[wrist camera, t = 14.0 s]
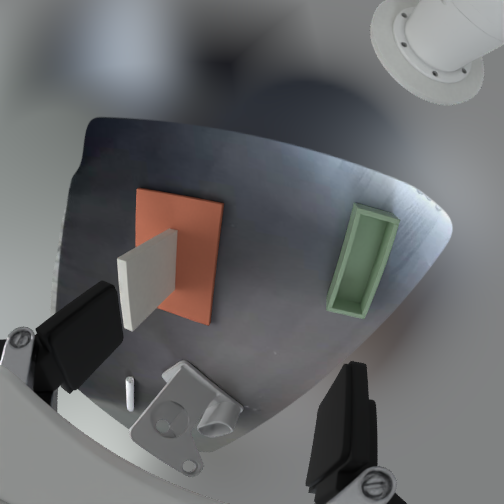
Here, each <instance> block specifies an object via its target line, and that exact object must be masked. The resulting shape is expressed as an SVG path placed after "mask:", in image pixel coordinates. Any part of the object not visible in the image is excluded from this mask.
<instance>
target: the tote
mask: <svg viewBox="0 0 504 504" xmlns="http://www.w3.org/2000/svg"><path fill="white" fill-rule="evenodd" d="M399 222H400V220H399V219H398V218H397V217H396V216H395V215H394V214H393V213H390V212H386V211H383V210H379V209H376V208H372V207H369V206H365V205H362V204H358V203H354V204H353V208H352V212H351V216H350V220H349V224H348V228H347V231H346V235H345V239H344V242H343V246H342V249H341V253H340V256H339V260H338V263H337V266H336V269H335V273H334V276H333V279H332V282H331V285H330V288H329V291H328V294H327V306H326V310H327V311H331V312H335V313H339V314H344V315H348V316H353V317H357V318H362V319H365V316H366V314H367V312H368V309H369V307H370V305H371V302H372V300H373V297H374V295H375V292H376V290H377V287H378V285H379V282H380V279H381V277H382V274H383V271H384V269H385V266H386V263H387V260H388V257H389V254H390V251H391V248H392V245H393V242H394V239H395V236H396V232H397V229H398V226H399Z"/></svg>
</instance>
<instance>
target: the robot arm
mask: <svg viewBox="0 0 504 504" xmlns="http://www.w3.org/2000/svg"><path fill="white" fill-rule="evenodd" d="M393 36H394V40H395V42H396V45H397V47H398V49H399V50H400V52H401V54H402V55H403V56H404V58H405V59H406V60H407V61H408V62H409V63H410V64H411V65H412V66H413V67H414V68H415V69H416V70H418V71H419V72H420V73H422V74H423V75H425V76H426V77H428V78H430V79H432V80H434V81H438V82H441V83H448V84H450V83H456V82H459V81H461V80H463V79H465V78H466V77H467V76H468V75H469V73H470V70H471V67H472V61H474V60H476V59H478V58H479V57H481V56H483V55H485V54H487V53H489V52H491V51H493V50H495V49H496V48H499V47H501V46H503V45H504V0H420V2H419V3H418V5H417V6H416V7H410V8H406V9H404V10H402V11H401V12H400V13H399V14H398V15H397V16H396V18H395V20H394V23H393ZM402 45H403V46H404V47H403V46H402ZM433 74H434V75H433ZM36 332H37V334H36V335H34V332H33V331H32V330H31V329H30V328H28V327H19V328H16V329H14V330H13V331H12V332H11V333H10V334H9V335H8V337H7V339H6V340H0V504H228V503H224V502H221V501H218V500H215V499H212V498H209V497H206V496H203V495H200V494H198V493H195V492H192V491H190V490H187V489H185V488H182V487H180V486H177V485H175V484H173V483H170V482H168V481H166V480H164V479H162V478H159V477H157V476H155V475H153V474H151V473H149V472H147V471H145V470H143V469H141V468H139V467H137V466H135V465H134V464H132V463H130V462H128V461H127V460H125V459H123V458H121V457H120V456H118V455H116V454H115V453H113V452H111V451H110V450H108V449H107V448H105V447H103V446H102V445H100V444H99V443H97V442H96V441H94V440H93V439H91V438H90V437H89V436H87V435H85V434H84V433H83V432H81V431H80V430H79V429H77V428H76V427H75V426H74V425H72V424H71V423H70V422H68V421H67V420H66V419H65V418H63V417H62V416H61V415H60V414H58V413H57V394H58V387H59V386H60V385H61V387H62V388H63V389H64V390H65V391H67V392H68V393H69V394H70V393H71V392H72V391H73V390H77V389H78V388H79V387H80V386H81V385H82V384H83V383H84V382H85V381H86V380H87V379H88V378H89V377H90V375H91V374H92V373H93V372H94V371H95V370H96V369H97V368H98V367H99V366H100V365H101V364H102V363H103V362H104V361H105V360H106V359H107V358H108V357H109V356H110V355H111V353H112V352H113V351H114V350H115V349H116V348H117V347H118V346H119V345H120V344H121V343H122V341H123V331H122V324H121V318H120V311H119V303H118V295H117V291H116V290H115V287H114V285H112V284H110V283H107V282H105V281H100V282H99V283H97V284H96V285H94V286H93V287H91V288H90V289H89V290H87V291H86V292H84V293H83V294H81V295H80V296H79V297H77V298H76V299H75V300H73V301H72V302H70V303H69V304H68V305H66V306H65V307H64V308H62V309H61V310H60V311H58V312H57V313H55V314H54V315H53V316H51V317H50V318H49V319H48V320H46V321H45V322H44V323H42V324H41V325H40V326H39V327H37V328H36ZM368 396H369V395H368V379H367V367H366V364H364V363H359V362H354V361H351V362H350V363H349V364H344V365H343V367H342V369H341V370H340V372H339V374H338V376H337V378H336V379H335V381H334V383H333V384H332V386H331V388H330V389H329V391H328V393H327V394H326V396H325V398H324V399H323V401H322V402H321V404H320V406H319V409H318V413H317V420H316V427H315V433H314V440H313V446H312V452H311V458H310V463H309V469H308V474H307V479H306V486H309V493H315V499H314V501H315V504H407V503H406V502H405V501H403V500H402V499H401V498H400V497H399V496H398V495H397V494H396V493H395V491H396V487H397V482H396V478H395V476H394V475H393V473H392V472H391V471H390V470H388V469H386V468H384V467H380V466H377V415H376V404H375V401H374V400H369V397H368Z"/></svg>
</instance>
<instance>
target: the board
mask: <svg viewBox="0 0 504 504" xmlns="http://www.w3.org/2000/svg"><path fill="white" fill-rule="evenodd" d="M177 232H178V230H174V229H170V228H169V229H168V230H166V231H164V232H162V233H160V234H159V235H157V236H155V237H153V238H151V239H150V240H148V241H146V242H144V243H143V244H141V245H139V246H137V247H136V248H134V249H132V250H130V251H129V252H127V253H125V254H124V255H122V256H120V257H119V258H117V263H118V277H119V288H120V298H121V306H122V314H123V322H124V328H126V329H128V330H130V331H134V330H135V329H136V328H137V327H138V326H139V325H140V324H141V323H142V322H143V321H144V320H145V319H146V318H147V317H148V316H149V315H150V314H151V313H152V312H153V311H154V310H155V309H156V308H157V307H158V306H159V305H160V304H161V303H162V302H163V301H164V300H165V299H166V298H167V297H168V296H169V295H170V294H171V293H172V292H173V291H174V290H175V276H176V250H177Z"/></svg>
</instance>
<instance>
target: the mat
mask: <svg viewBox="0 0 504 504" xmlns="http://www.w3.org/2000/svg"><path fill="white" fill-rule="evenodd" d="M223 208H224V203H220V202H215V201H210V200H205V199H199V198H194V197H189V196H183V195H178V194H172V193H167V192H161V191H155V190H149V189H143V188H138V189H137V198H136V247H137V246H139V245H141V244H143V243H144V242H146V241H148V240H150V239H151V238H153V237H155V236H157V235H159V234H160V233H162V232H164V231H166V230H168V229H169V228H170V229H174V230H178V232H177V250H176V276H175V290H174V291H173V292H172V293H171V294H170V295H169V296H168V297H167V298H166V299H165V300H164V301H163V302H162V303H161V304H160V305H159V306H158V307H157V308H159V309H162V310H165V311H167V312H170V313H173V314H176V315H179V316H181V317H184V318H187V319H190V320H193V321H196V322H199V323H202V324H205V325H208V326H209V325H210V323H211V313H212V303H213V293H214V284H215V274H216V265H217V257H218V248H219V240H220V232H221V224H222V216H223Z"/></svg>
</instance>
